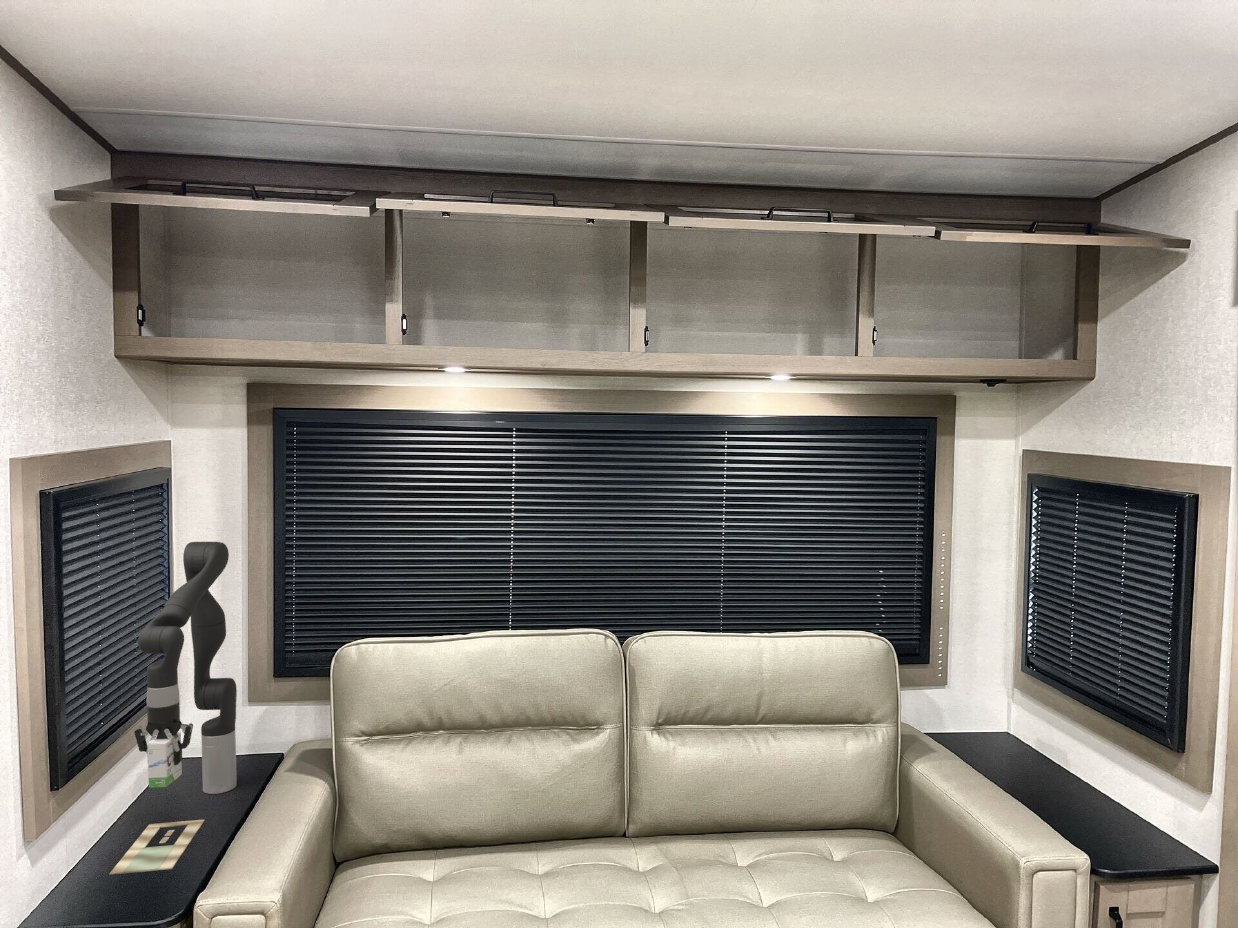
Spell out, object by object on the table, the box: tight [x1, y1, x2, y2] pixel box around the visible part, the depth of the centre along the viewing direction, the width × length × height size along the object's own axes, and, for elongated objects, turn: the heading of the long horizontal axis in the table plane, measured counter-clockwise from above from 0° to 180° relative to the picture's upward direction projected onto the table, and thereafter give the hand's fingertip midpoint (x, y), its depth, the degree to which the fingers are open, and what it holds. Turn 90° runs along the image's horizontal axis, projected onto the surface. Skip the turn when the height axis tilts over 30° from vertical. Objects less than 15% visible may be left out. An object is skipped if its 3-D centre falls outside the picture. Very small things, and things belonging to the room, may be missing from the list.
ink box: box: [147, 731, 183, 788], centre depth 221 cm, size 8×5×12 cm, turn 3°
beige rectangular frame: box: [109, 819, 205, 875], centre depth 216 cm, size 26×14×1 cm, turn 10°
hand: (165, 764), depth 221 cm, fingers closed on ink box, 5 cm apart
